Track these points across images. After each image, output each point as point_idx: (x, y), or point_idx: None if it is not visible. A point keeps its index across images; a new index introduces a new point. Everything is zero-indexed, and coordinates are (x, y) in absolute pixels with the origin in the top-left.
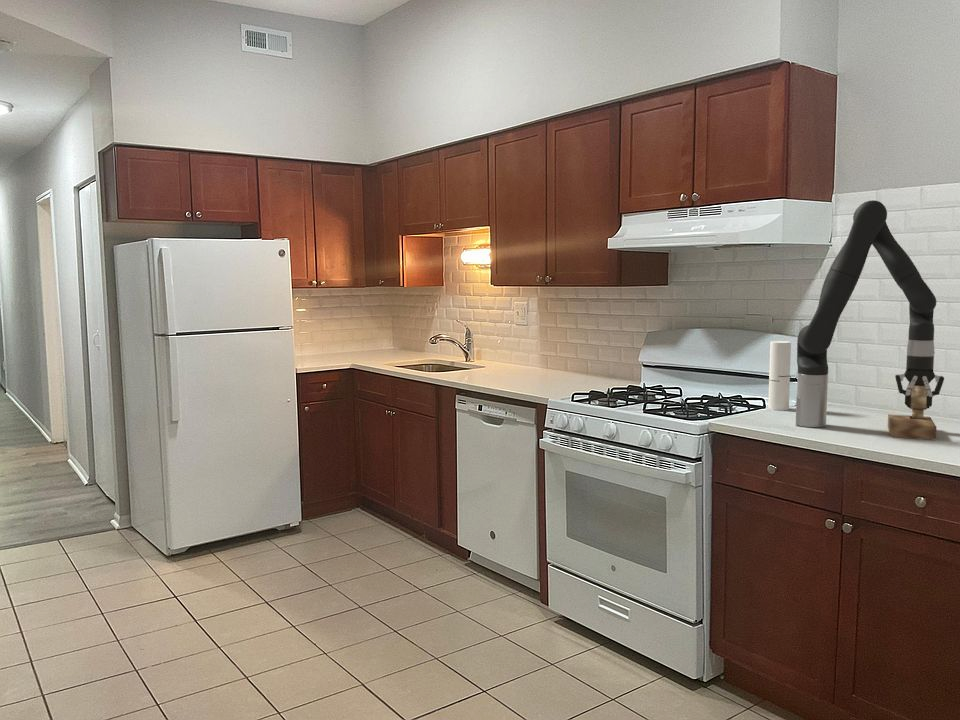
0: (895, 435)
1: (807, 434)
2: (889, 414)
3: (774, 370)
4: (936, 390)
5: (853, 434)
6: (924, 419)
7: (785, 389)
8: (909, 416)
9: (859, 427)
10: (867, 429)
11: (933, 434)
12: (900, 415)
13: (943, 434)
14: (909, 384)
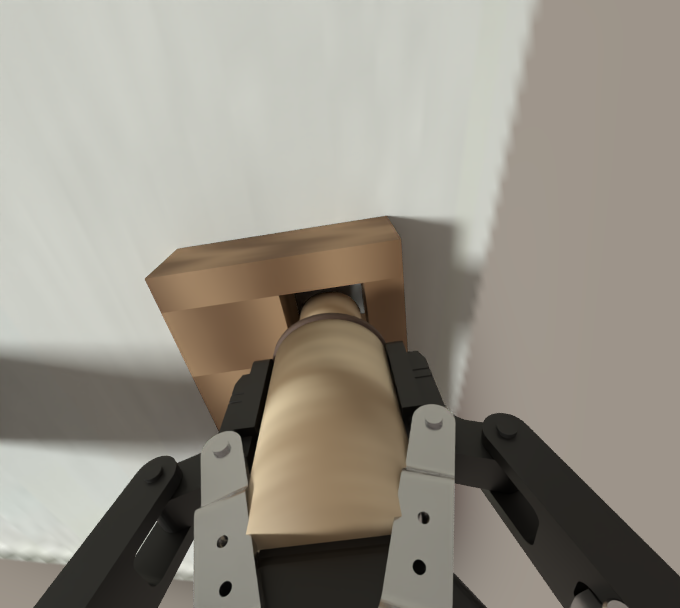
0: None
1: (32, 519)
2: (153, 278)
3: None
4: (505, 511)
5: (141, 467)
6: (367, 309)
7: None
8: (280, 293)
9: (83, 341)
10: (135, 367)
11: None
12: (224, 283)
13: (441, 323)
14: (214, 551)
